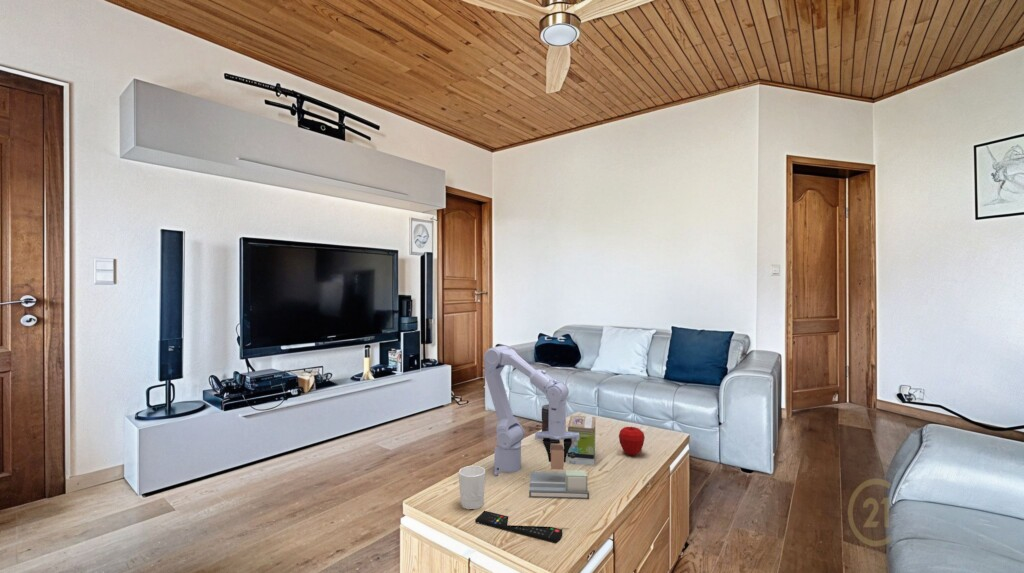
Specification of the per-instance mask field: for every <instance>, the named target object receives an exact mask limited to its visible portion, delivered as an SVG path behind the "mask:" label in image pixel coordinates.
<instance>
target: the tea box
mask: <svg viewBox="0 0 1024 573" xmlns="http://www.w3.org/2000/svg"><path fill="white" fill-rule="evenodd" d="M567 432H573V433H579V441H577V440H572V444H571V446H570V448H569V451H568V453H567V456H566V460H567V463H566V464H570V465H582V466H595V461H596V460H595V459H596V458H595V457H596V417H595V416H584V415H570V417H569V421H568V426H567Z"/></svg>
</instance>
